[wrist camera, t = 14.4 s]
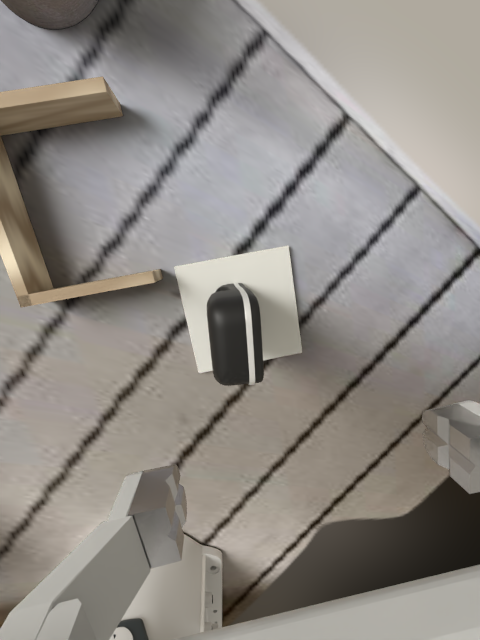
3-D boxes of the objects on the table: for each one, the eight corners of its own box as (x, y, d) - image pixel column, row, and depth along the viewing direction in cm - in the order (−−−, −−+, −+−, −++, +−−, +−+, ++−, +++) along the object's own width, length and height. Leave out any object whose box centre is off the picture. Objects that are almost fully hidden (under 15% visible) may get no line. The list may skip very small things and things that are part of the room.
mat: (300, 350, 32) (302, 352, 32) (199, 371, 32) (198, 373, 31) (287, 245, 29) (288, 245, 29) (174, 266, 29) (174, 266, 28)
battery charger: (207, 282, 29) (202, 301, 18) (243, 279, 29) (260, 296, 18) (213, 346, 31) (212, 398, 20) (247, 342, 31) (266, 393, 20)
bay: (162, 278, 29) (154, 282, 25) (47, 300, 29) (20, 307, 25) (120, 103, 25) (102, 76, 21) (-15, 125, 25) (-58, 101, 21)
